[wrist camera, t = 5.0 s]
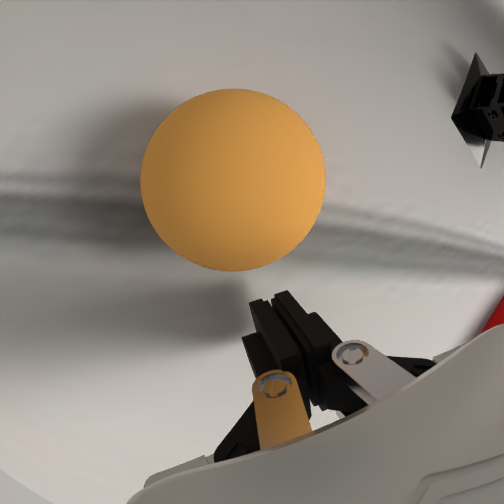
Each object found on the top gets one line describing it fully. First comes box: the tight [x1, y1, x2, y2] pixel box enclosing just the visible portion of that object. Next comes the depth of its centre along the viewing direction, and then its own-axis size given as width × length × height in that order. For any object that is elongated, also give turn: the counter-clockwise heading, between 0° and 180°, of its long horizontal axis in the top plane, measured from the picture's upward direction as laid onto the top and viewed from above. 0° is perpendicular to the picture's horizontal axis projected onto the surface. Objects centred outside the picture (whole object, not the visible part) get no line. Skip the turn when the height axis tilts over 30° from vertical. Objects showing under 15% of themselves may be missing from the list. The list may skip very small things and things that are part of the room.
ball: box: [140, 89, 326, 271], centre depth 9 cm, size 6×6×6 cm
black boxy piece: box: [451, 53, 504, 168], centre depth 12 cm, size 12×7×5 cm, turn 145°
